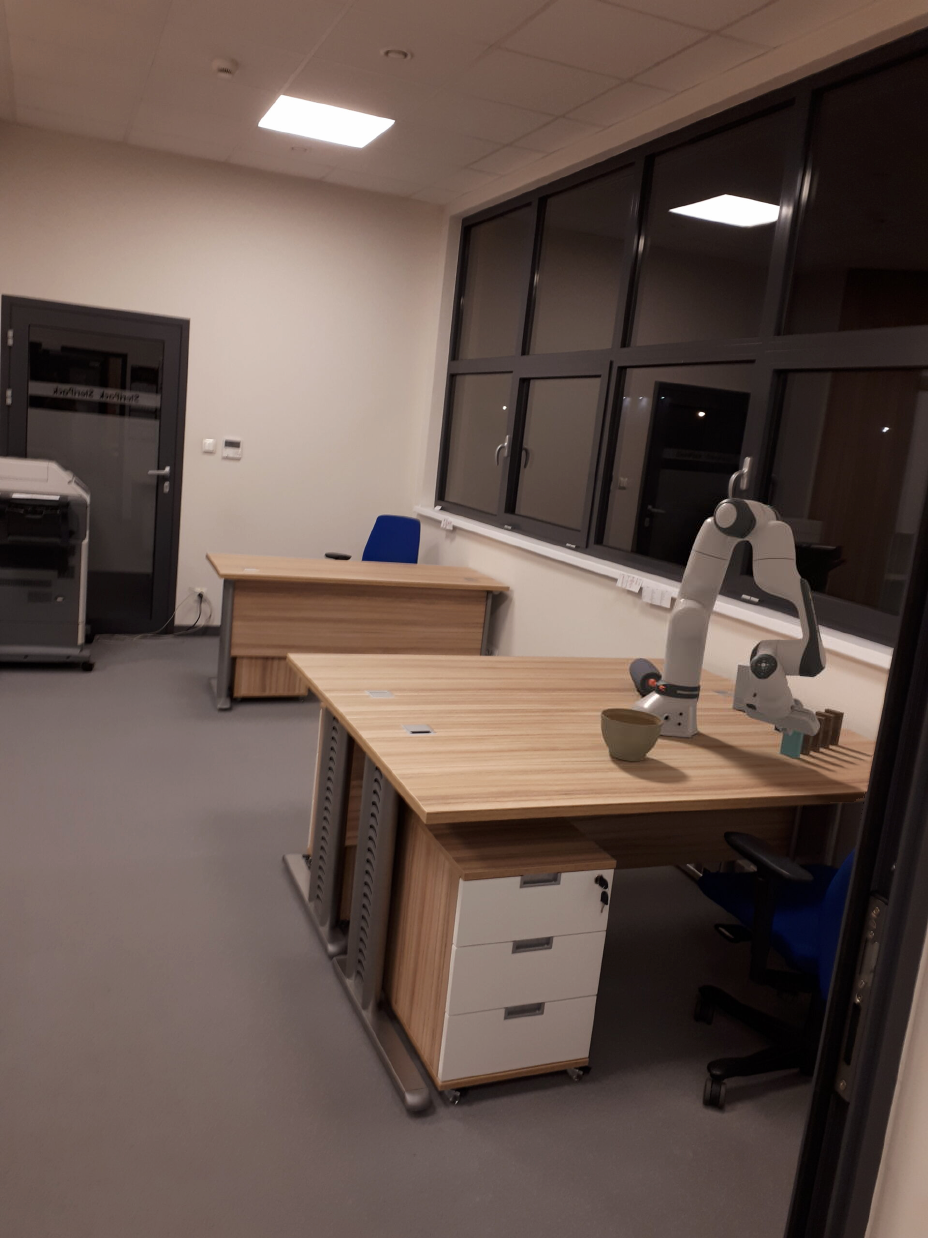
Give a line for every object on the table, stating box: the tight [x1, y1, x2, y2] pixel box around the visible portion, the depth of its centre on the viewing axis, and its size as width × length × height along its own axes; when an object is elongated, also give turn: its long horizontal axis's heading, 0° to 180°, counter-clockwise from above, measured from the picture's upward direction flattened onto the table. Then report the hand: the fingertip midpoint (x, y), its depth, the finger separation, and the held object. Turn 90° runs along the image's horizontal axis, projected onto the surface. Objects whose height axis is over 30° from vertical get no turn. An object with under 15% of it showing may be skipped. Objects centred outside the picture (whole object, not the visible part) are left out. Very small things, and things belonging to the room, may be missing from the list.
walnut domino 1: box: [800, 734, 813, 756], centre depth 271 cm, size 2×5×10 cm, turn 46°
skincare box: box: [731, 661, 752, 712], centre depth 316 cm, size 8×7×16 cm
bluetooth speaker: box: [628, 657, 662, 696], centre depth 326 cm, size 23×9×10 cm, turn 179°
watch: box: [773, 697, 805, 733], centre depth 292 cm, size 6×8×11 cm
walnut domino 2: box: [810, 715, 825, 753], centre depth 275 cm, size 2×5×10 cm, turn 45°
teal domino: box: [779, 730, 804, 760], centre depth 266 cm, size 2×5×10 cm, turn 45°
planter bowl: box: [600, 707, 663, 762], centre depth 248 cm, size 16×16×11 cm
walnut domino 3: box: [814, 710, 835, 750], centre depth 280 cm, size 2×5×10 cm, turn 45°
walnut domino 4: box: [824, 708, 845, 746], centre depth 285 cm, size 2×5×10 cm, turn 45°
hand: (786, 732), depth 263 cm, fingers closed
